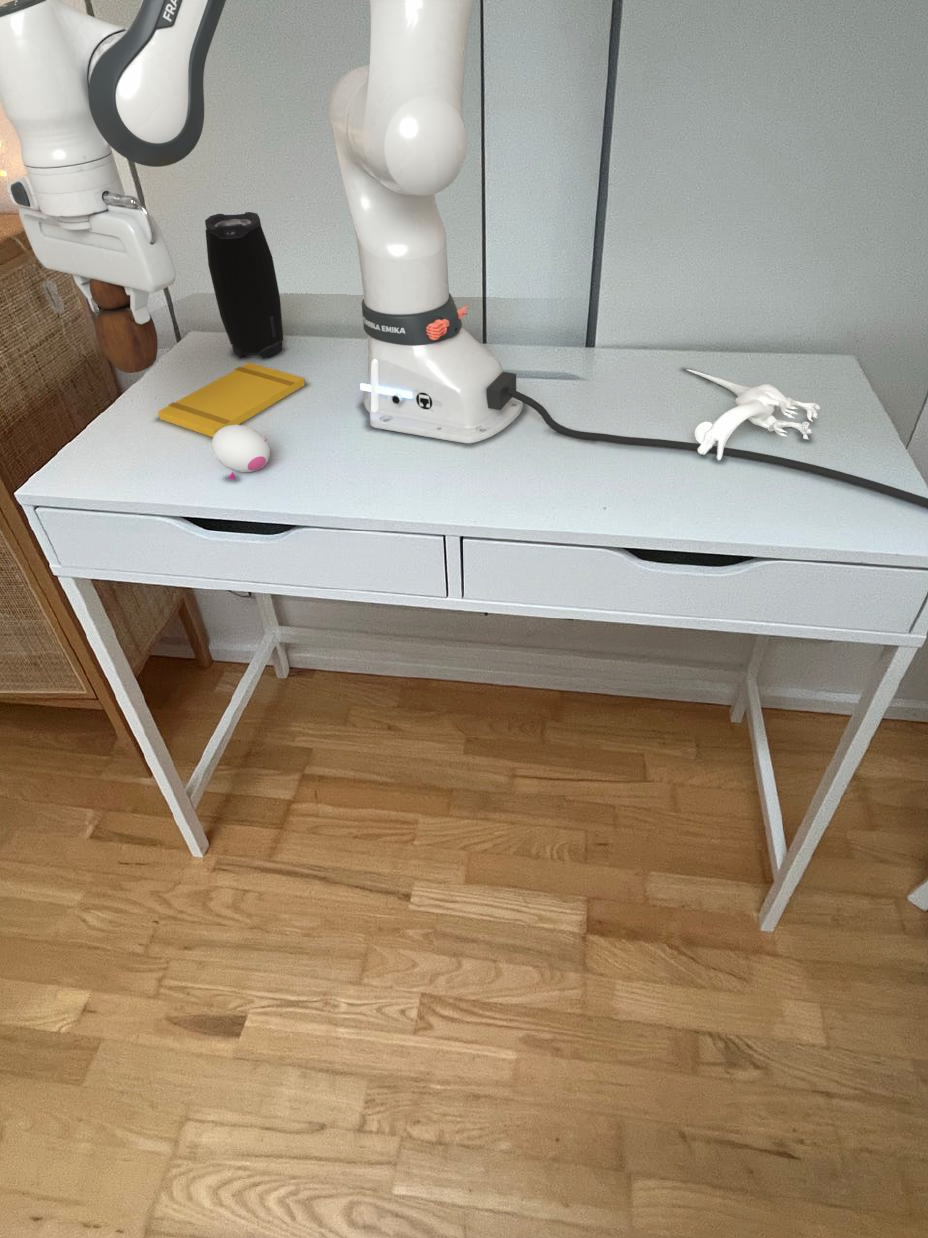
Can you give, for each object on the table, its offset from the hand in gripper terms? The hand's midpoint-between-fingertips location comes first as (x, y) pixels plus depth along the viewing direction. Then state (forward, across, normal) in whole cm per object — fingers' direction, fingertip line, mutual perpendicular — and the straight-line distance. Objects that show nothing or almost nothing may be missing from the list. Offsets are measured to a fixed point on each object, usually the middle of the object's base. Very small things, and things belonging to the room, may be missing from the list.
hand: (121, 316), depth 97 cm
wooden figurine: (+6, 0, 0) cm, 6 cm away
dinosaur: (+19, -60, -42) cm, 76 cm away
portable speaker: (+18, +11, -29) cm, 36 cm away
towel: (+18, +2, -14) cm, 23 cm away
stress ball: (+18, -13, -2) cm, 22 cm away
